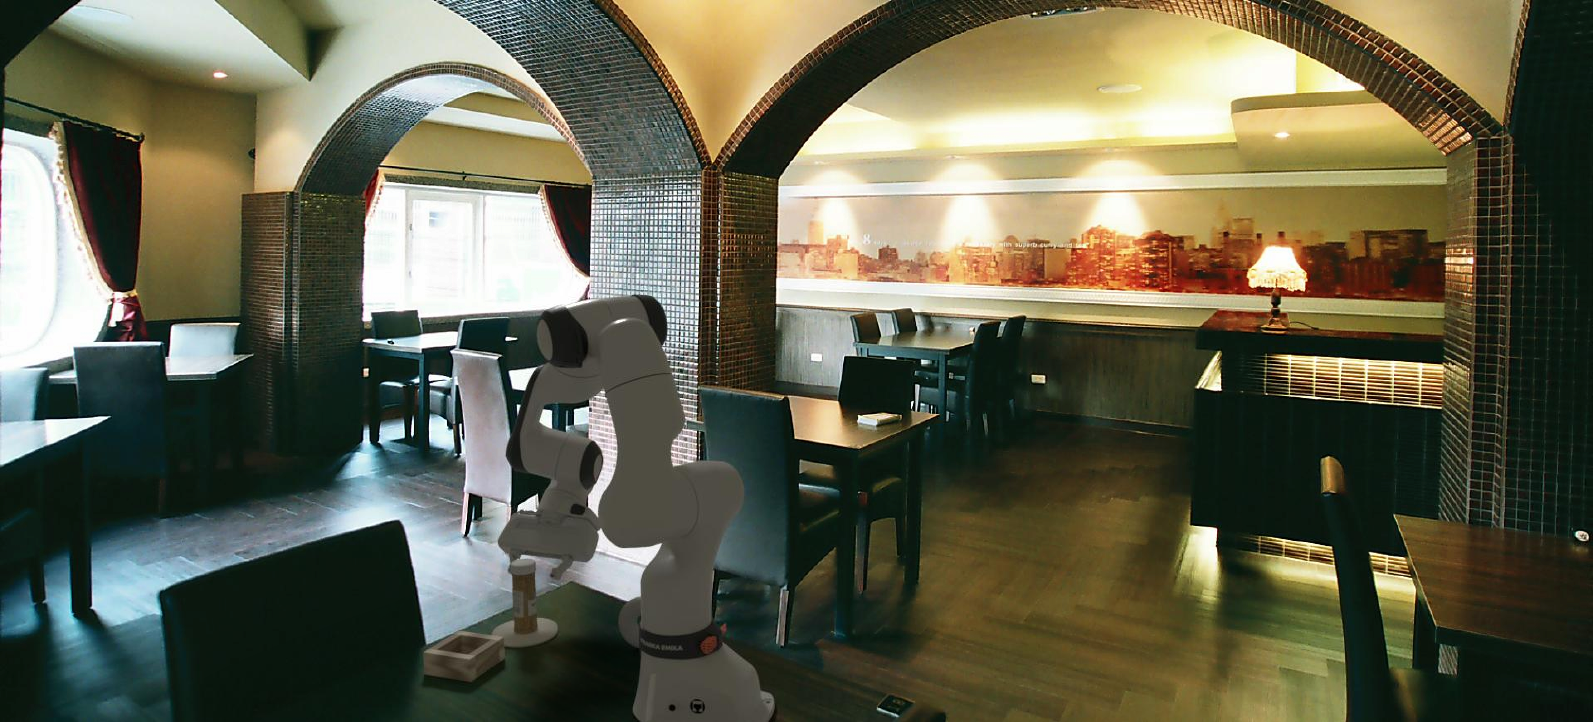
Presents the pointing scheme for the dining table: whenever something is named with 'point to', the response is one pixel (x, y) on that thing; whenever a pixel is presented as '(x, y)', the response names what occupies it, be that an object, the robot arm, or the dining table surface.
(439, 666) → the holder collar
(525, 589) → the sprinkles bottle
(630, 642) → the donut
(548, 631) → the white domed disc
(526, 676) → the dining table surface
